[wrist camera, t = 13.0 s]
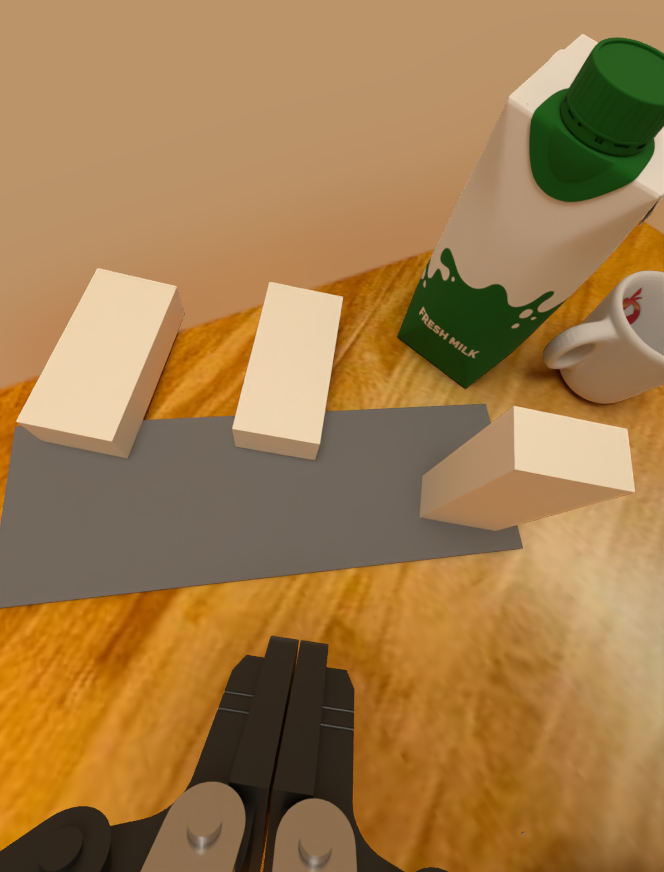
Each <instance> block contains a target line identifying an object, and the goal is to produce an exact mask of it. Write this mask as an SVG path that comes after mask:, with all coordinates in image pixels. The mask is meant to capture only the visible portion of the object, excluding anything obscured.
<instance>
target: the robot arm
mask: <svg viewBox="0 0 664 872" xmlns="http://www.w3.org/2000/svg"><path fill="white" fill-rule="evenodd" d="M298 644H299V640H296V639H289V638H283V637H276V636H271V638H270V641H269V644H268V648H267V651H266V655H265V658H263V657H256V656H250V655H246V656H245V657H244V658H243V659H242V660H241V661H240V662H239V664H238V665H237V666H236V667H235V668H234V669H233V670H232V672H231V675H230V678H229V680H228V683H227V686H226V688H225V692H224V694H223V697H222V699H221V702H220V705H219V709H218V711H217V713H216V715H215V718H214V721H213V724H212V726H211V729H210V732H209V734H208V737H207V740H206V742H205V745H204V748H203V751H202V753H201V756H200V759H199V761H198V764H197V767H196V769H195V772H194V775H193V777H192V779H191V782H190V784H189V785H188V787H187V789H186V790H185V791H184V793H183V794H182V795H181V796H180V797H179V798H178V799H177V800H176V801H175V802H174V803H173V804H172V805H171V806H169V807H168V808H167V809H165V810H164V811H162V812H160V813H158V814H156V815H154V816H152V817H149V818H145V819H141V820H137V821H132V822H127V823H123V824H118V825H113V826H110V825H109V822H108V820H107V818H106V817H105V815H104V814H103V813H102V812H101V811H99V810H97V809H95V808H92V807H88V806H79V807H73V808H69V809H66V810H63V811H61V812H59V813H57V814H55V815H53V816H52V817H50V818H48V819H47V820H45V821H44V822H42V823H41V824H40V825H38V826H37V827H35V828H34V829H32V830H31V831H29V832H28V833H26V834H25V835H23V836H22V837H20V838H19V839H18V840H16V841H15V842H13V843H12V844H10V845H9V846H7V847H6V848H4V849H3V850H1V851H0V872H260V869H261V863H262V858H263V853H264V847H265V842H266V836H267V843H266V852H265V860H264V869H263V872H404V871H402V870H401V869H399V868H397V867H396V866H394V865H392V864H391V863H389V862H387V861H386V860H384V859H383V858H381V857H380V856H379V855H377V854H376V853H375V852H374V851H373V850H372V849H371V848H370V847H369V845H368V844H367V843H366V842H365V840H364V838H363V837H362V835H361V834H360V831H359V829H358V827H357V825H356V821H355V818H354V813H353V804H352V794H353V737H354V732H353V729H354V687H353V685H352V683H351V680H350V678H349V675H348V673H347V671H346V670H341V669H334V668H328V667H326V665H327V655H328V644H323V643H316V642H310V641H303V640H301V643H300V648H299V653H298V659H297V652H298ZM296 660H297V664H296ZM295 668H296V669H295ZM268 825H269V827H268ZM267 831H268V835H267ZM416 872H447V871H446V870H443V869H440V868H433V867H429V868H423V869H420V870H418V871H416Z"/></svg>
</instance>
